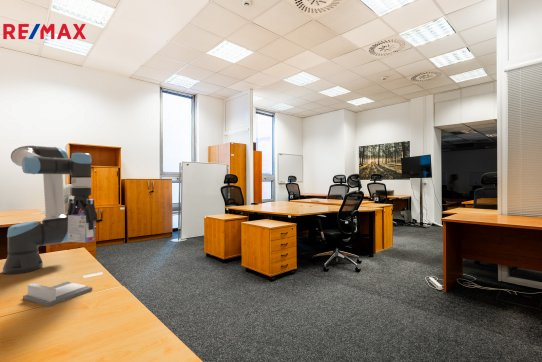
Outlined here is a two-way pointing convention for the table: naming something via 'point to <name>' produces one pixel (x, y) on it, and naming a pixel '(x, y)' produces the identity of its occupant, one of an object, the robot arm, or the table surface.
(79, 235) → the ink cartridge box
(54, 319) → the table surface
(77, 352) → the table surface
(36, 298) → the dock board
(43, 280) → the table surface
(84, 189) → the robot arm
